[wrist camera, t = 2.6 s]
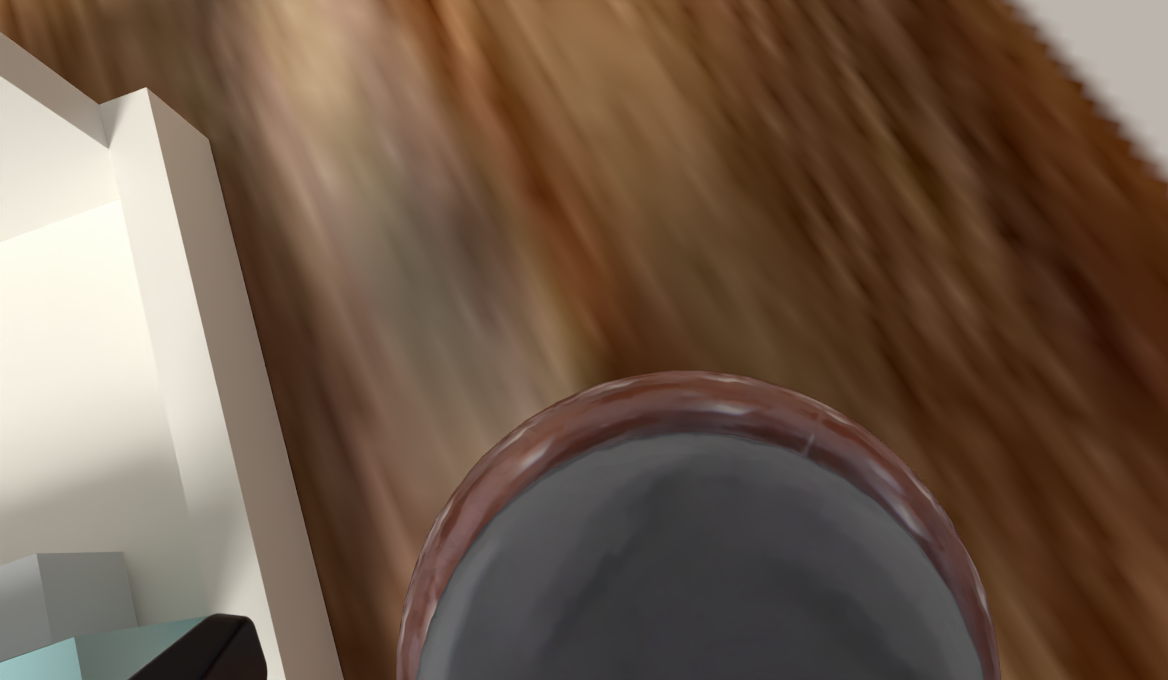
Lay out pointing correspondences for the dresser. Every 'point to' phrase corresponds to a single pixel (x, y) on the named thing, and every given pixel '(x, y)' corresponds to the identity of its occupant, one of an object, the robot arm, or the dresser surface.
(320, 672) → the lane
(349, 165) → the dresser surface
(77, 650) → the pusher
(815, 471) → the supplement bottle
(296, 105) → the dresser surface
